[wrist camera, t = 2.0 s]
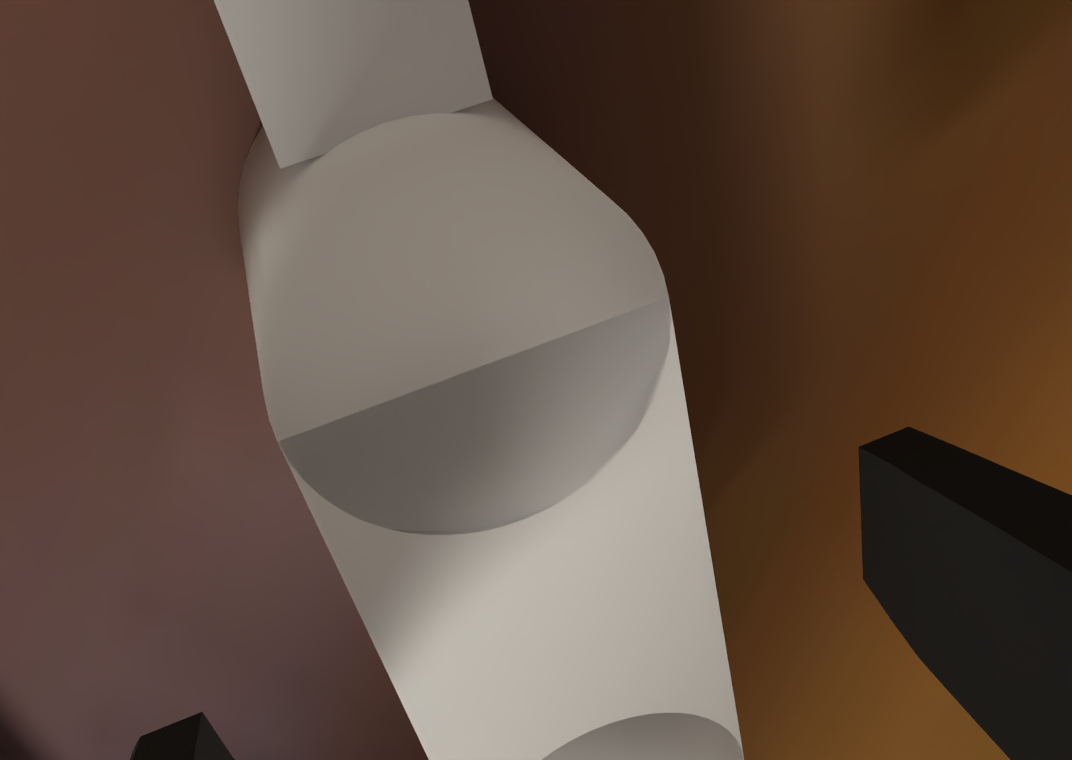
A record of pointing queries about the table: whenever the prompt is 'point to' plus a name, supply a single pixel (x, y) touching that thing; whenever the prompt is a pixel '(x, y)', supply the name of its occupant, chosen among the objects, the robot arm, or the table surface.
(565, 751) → the grey connector
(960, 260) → the table surface
